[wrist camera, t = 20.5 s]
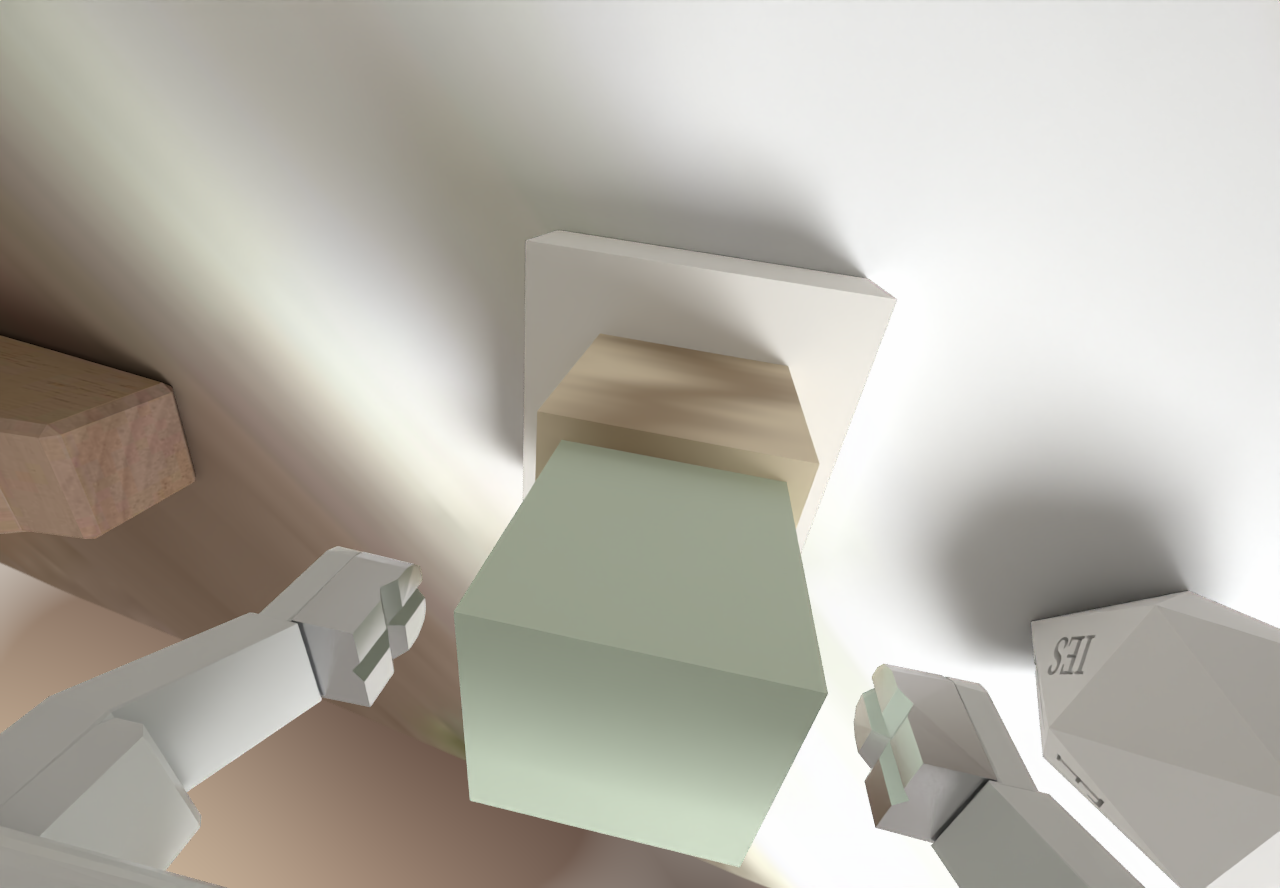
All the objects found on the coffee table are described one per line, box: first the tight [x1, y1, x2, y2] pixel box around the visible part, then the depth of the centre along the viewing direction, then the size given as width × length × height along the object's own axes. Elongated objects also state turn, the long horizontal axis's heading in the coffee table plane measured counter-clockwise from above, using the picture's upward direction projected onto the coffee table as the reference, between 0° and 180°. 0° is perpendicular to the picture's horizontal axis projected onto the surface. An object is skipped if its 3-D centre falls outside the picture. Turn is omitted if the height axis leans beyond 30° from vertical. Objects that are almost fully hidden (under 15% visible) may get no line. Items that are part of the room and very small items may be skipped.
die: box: [1031, 591, 1280, 888], centre depth 17 cm, size 8×9×10 cm
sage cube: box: [454, 440, 828, 867], centre depth 9 cm, size 4×4×4 cm
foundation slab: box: [523, 230, 897, 553], centre depth 17 cm, size 10×10×3 cm
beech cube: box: [535, 334, 820, 528], centre depth 13 cm, size 6×6×6 cm
